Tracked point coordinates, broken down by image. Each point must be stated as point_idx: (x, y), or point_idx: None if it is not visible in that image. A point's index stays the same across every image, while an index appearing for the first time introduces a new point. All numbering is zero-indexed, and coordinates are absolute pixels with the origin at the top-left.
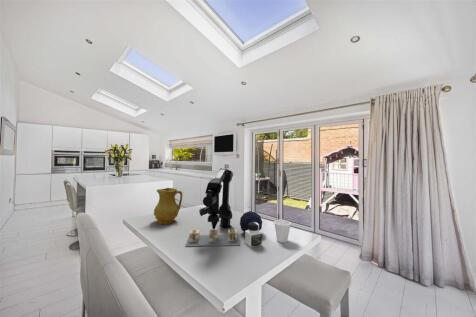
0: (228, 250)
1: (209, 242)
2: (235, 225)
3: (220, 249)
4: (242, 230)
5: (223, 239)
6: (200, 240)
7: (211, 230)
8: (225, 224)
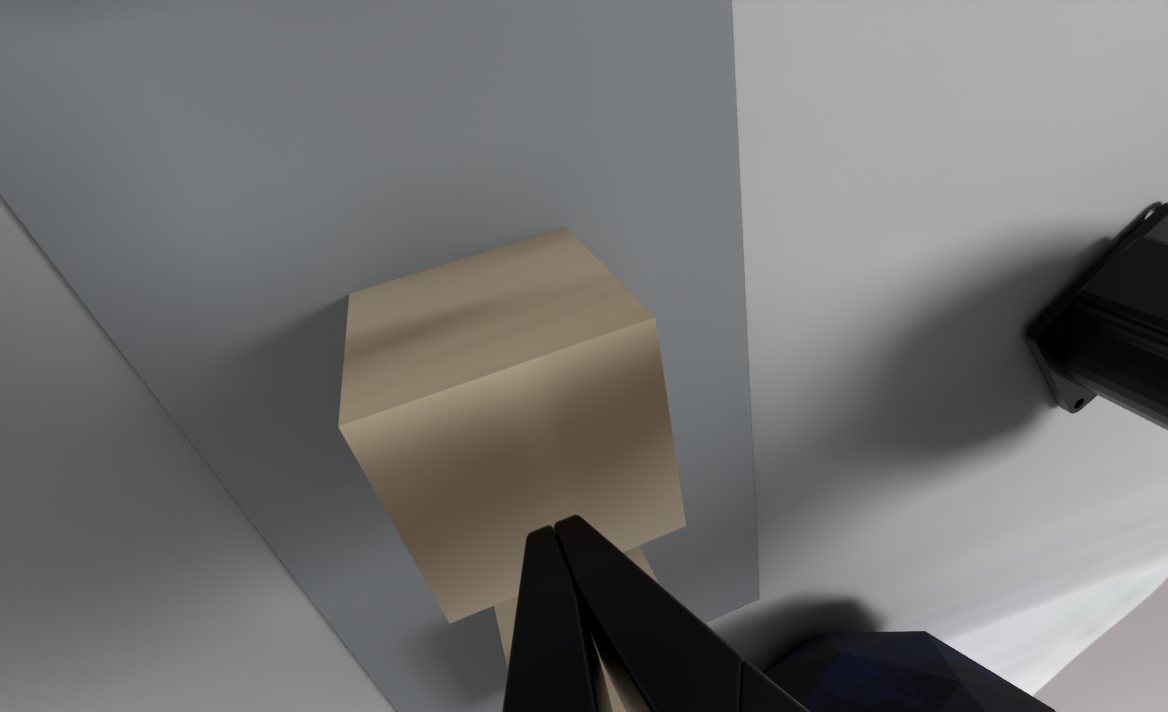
0: (185, 698)
1: (310, 322)
2: (1086, 435)
3: (145, 599)
4: (817, 668)
5: None
6: (333, 9)
7: (597, 399)
8: (1115, 363)
